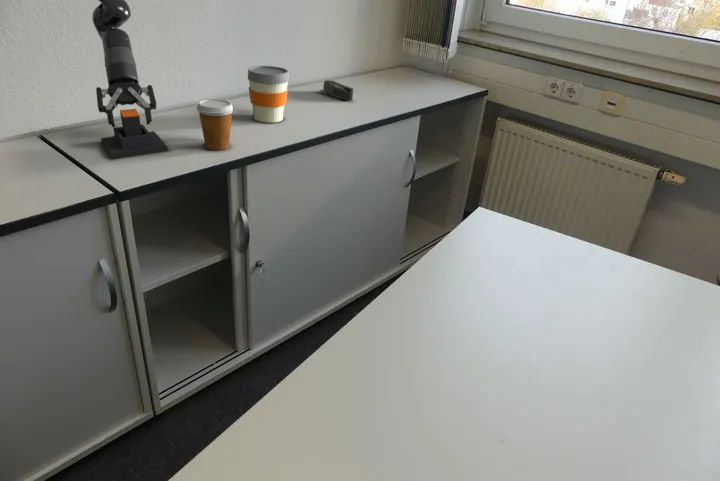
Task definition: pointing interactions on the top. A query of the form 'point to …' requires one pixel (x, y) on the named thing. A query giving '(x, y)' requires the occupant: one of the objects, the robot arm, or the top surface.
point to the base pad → (133, 143)
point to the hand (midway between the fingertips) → (130, 124)
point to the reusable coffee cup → (268, 92)
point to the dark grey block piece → (337, 90)
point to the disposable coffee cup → (215, 122)
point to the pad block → (130, 122)
